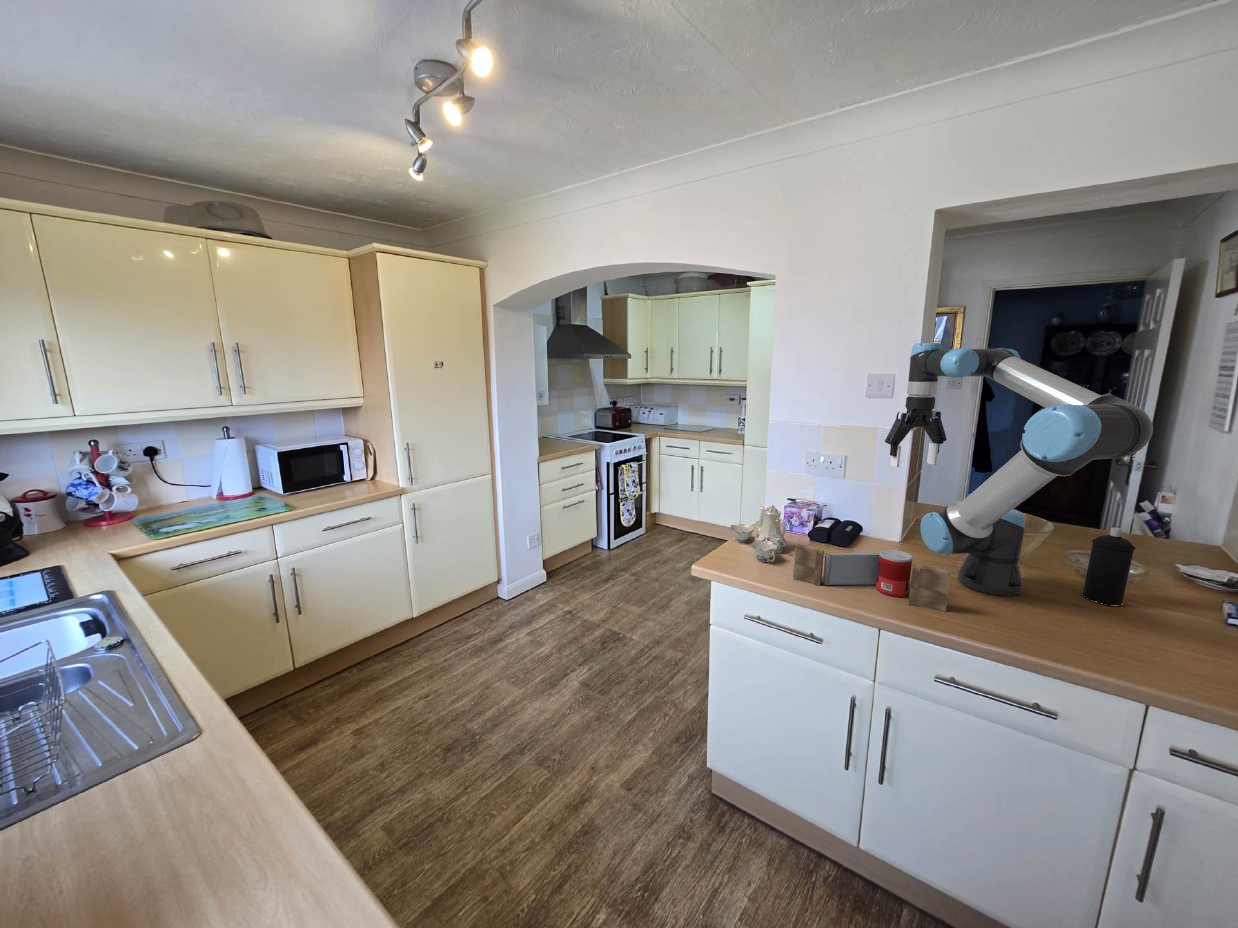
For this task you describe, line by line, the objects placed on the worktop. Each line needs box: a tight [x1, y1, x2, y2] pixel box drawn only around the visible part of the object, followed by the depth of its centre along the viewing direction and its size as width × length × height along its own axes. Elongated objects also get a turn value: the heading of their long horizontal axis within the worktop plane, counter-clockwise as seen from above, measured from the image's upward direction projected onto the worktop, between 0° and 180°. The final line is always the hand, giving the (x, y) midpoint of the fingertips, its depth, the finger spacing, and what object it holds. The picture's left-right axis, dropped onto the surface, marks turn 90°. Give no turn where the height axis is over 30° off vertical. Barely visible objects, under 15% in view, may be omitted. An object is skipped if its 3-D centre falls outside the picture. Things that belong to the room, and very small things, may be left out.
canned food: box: [875, 549, 913, 598], centre depth 138 cm, size 8×8×11 cm
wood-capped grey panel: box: [792, 543, 952, 613], centre depth 137 cm, size 38×3×10 cm, turn 58°
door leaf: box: [822, 552, 880, 586], centre depth 143 cm, size 21×2×9 cm, turn 90°
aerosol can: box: [1081, 527, 1136, 606], centre depth 131 cm, size 8×8×20 cm
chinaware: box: [730, 503, 788, 563], centre depth 169 cm, size 28×17×17 cm, turn 15°
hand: (913, 465), depth 153 cm, fingers open, 13 cm apart
